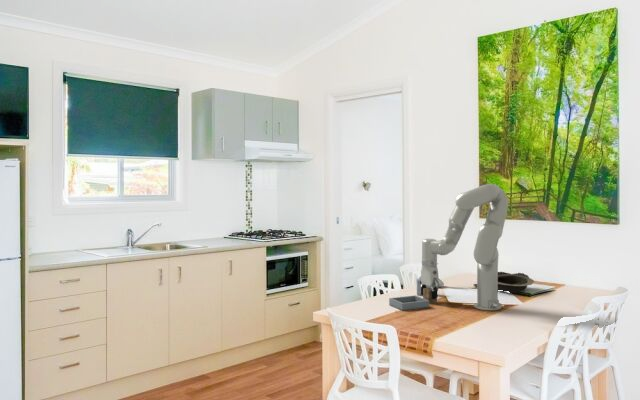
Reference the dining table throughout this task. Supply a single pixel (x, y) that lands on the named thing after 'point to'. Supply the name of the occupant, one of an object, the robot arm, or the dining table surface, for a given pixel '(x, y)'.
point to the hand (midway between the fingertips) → (428, 296)
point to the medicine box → (419, 286)
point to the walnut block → (428, 295)
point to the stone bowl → (513, 282)
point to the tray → (409, 303)
